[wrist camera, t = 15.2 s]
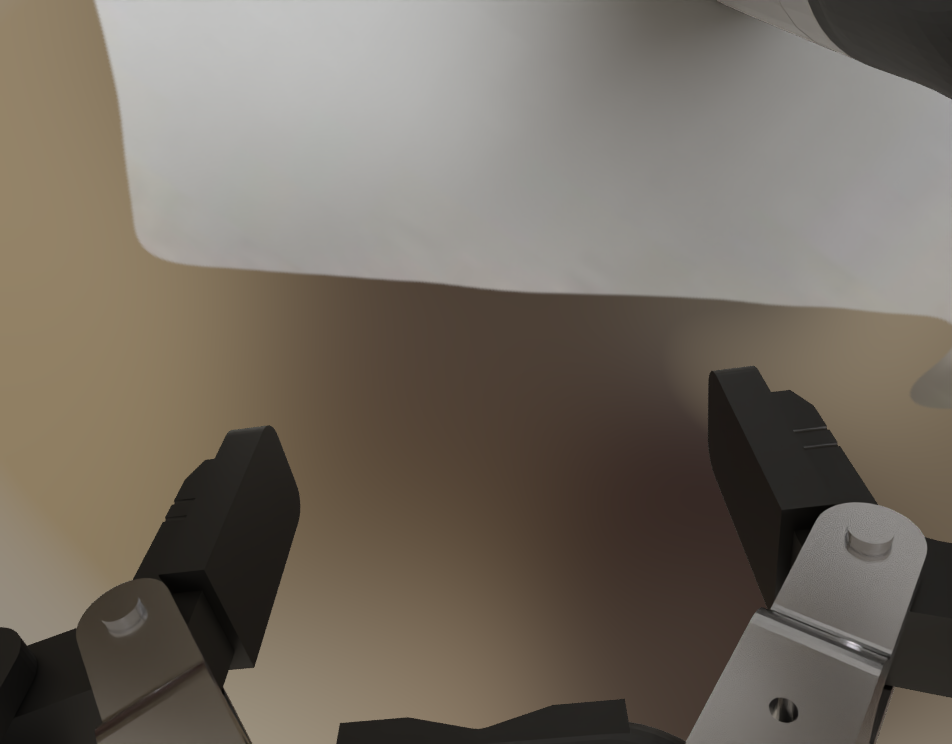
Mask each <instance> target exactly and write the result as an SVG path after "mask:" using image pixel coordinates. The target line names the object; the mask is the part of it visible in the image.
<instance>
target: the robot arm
mask: <svg viewBox="0 0 952 744" xmlns="http://www.w3.org/2000/svg"><path fill="white" fill-rule="evenodd" d="M717 1H718V2H720V3H722V4H724V5H726V6H729V7H731V8H733V9H736V10H738V11H740V12H742V13H744V14H747V15H749V16H751V17H754V18H756V19H759V20H761V21H763V22H766V23H768V24H771V25H773V26H775V27H778V28H780V29H783V30H785V31H787V32H790V33H792V34H795V35H797V36H799V37H802V38H804V39H807V40H809V41H811V42H814V43H816V44H818V45H821V46H823V47H826V48H828V49H830V50H833V51H835V52H839V53H841V54H843V55H846V56H848V57H851V58H853V59H855V60H858V61H860V62H862V63H864V64H866V65H869V66H871V67H874V68H877V69H879V70H882V71H885V72H888V73H891V74H894V75H896V76H899V77H902V78H905V79H908V80H911V81H913V82H916V83H918V84H921V85H923V86H926V87H928V88H931V89H933V90H935V91H937V92H939V93H941V94H943V95H945V96H946V97H948V98H950V99H952V0H717ZM708 385H709V388H708V392H709V393H708V447H709V455H710V461H711V466H712V470H713V473H714V475H715V478H716V481H717V483H718V486H719V488H720V491H721V493H722V496H723V498H724V501H725V503H726V506H727V508H728V511H729V513H730V516H731V518H732V521H733V523H734V526H735V528H736V531H737V534H738V536H739V539H740V541H741V543H742V546H743V549H744V551H745V553H746V556H747V559H748V561H749V564H750V566H751V568H752V571H753V574H754V576H755V579H756V581H757V584H758V586H759V589H760V591H761V594H762V596H763V599H764V601H765V604H766V606H767V609H765V608H760V609H758V610H757V611H756V613H755V614H754V616H753V617H752V619H751V621H750V622H749V624H748V626H747V628H746V630H745V632H744V634H743V636H742V638H741V639H740V641H739V643H738V645H737V647H736V649H735V651H734V653H733V655H732V657H731V658H730V660H729V662H728V664H727V666H726V668H725V670H724V672H723V673H722V675H721V677H720V679H719V681H718V683H717V685H716V686H715V688H714V690H713V692H712V694H711V696H710V698H709V700H708V702H707V704H706V705H705V707H704V709H703V711H702V713H701V715H700V717H699V719H698V721H697V722H696V724H695V726H694V728H693V730H692V732H691V734H690V735H689V737H688V739H687V741H684V740H682V739H680V738H678V737H676V736H674V735H671V734H669V733H666V732H664V731H662V730H659V729H656V728H652V727H649V726H646V725H642V724H636V723H631V722H628V716H627V710H626V704H625V699H620V700H607V701H596V702H584V703H574V704H573V703H572V704H561V705H552V706H549V707H546V708H543V709H540V710H537V711H534V712H531V713H528V714H525V715H522V716H519V717H517V718H513V719H511V720H507V721H505V722H502V723H499V724H496V725H493V726H490V727H486V728H483V729H471V728H465V727H460V726H454V725H448V724H443V723H437V722H431V721H425V720H420V719H414V718H396V719H384V720H372V721H360V722H349V723H340V726H339V732H338V738H337V744H876V742H877V739H878V736H879V733H880V730H881V727H882V724H883V721H884V718H885V715H886V712H887V709H888V706H889V703H890V700H891V697H892V694H893V691H894V688H895V687H900V688H905V689H910V690H915V691H920V692H925V693H930V694H936V695H941V696H946V697H951V698H952V543H947V542H941V541H937V540H933V539H929V538H926V537H924V536H923V534H922V532H921V531H920V530H919V528H918V527H917V526H916V525H915V524H914V523H913V522H912V521H910V520H909V519H908V518H906V517H905V516H903V515H901V514H900V513H898V512H896V511H894V510H891V509H889V508H886V507H883V506H879V505H878V504H877V502H876V501H875V499H874V498H873V496H872V495H871V493H870V492H869V490H868V489H867V487H866V486H865V484H864V482H863V481H862V479H861V478H860V476H859V475H858V473H857V472H856V470H855V468H854V467H853V465H852V464H851V462H850V461H849V459H848V458H847V456H846V455H845V453H844V452H843V450H842V448H841V447H840V446H838V445H837V441H836V439H835V438H834V436H833V435H832V433H831V432H830V430H827V426H826V424H825V423H824V421H823V419H822V418H821V416H820V415H819V413H818V412H817V410H816V409H815V407H814V406H813V405H812V404H810V403H809V402H807V401H806V400H804V399H803V398H801V397H800V396H798V395H797V394H795V393H794V392H792V391H791V390H786V391H778V392H770V390H769V388H768V386H767V385H766V383H765V381H764V379H763V378H762V376H761V374H760V373H759V371H758V369H757V368H756V367H755V366H748V367H741V368H732V369H724V370H717V371H711V372H710V375H709V384H708ZM174 502H175V504H174V505H172V506H171V507H170V509H169V511H168V513H167V515H166V517H165V518H166V521H165V522H163V523H162V525H161V527H160V529H159V531H158V533H157V534H156V536H155V539H154V540H153V542H152V544H151V546H150V548H149V550H148V552H147V554H146V555H145V557H144V559H143V561H142V563H141V565H140V567H139V569H138V571H137V573H136V575H135V577H134V578H133V580H131V581H128V582H125V583H122V584H120V585H118V586H116V587H114V588H112V589H110V590H109V591H107V592H106V593H104V594H103V595H102V596H100V597H99V598H98V599H97V600H96V601H94V602H93V603H92V604H91V605H90V606H89V608H88V609H87V610H86V611H85V613H84V614H83V615H82V617H81V619H80V621H79V623H78V626H77V628H75V629H73V630H70V631H67V632H64V633H62V634H59V635H56V636H53V637H50V638H48V639H45V640H42V641H39V642H36V643H34V644H31V645H28V646H27V645H26V644H25V643H24V641H23V640H22V639H21V638H20V636H19V635H18V633H17V632H15V631H14V630H12V629H9V628H2V627H0V744H252V742H251V740H250V738H249V736H248V734H247V732H246V730H245V728H244V726H243V724H242V722H241V721H240V718H239V716H238V714H237V712H236V710H235V708H234V706H233V705H232V702H231V701H230V699H229V697H228V695H227V693H226V691H225V690H224V688H223V685H224V682H225V679H226V676H227V673H228V670H233V669H244V668H254V667H255V663H256V660H257V657H258V653H259V650H260V647H261V643H262V640H263V637H264V634H265V630H266V627H267V624H268V620H269V617H270V614H271V610H272V607H273V604H274V600H275V597H276V594H277V590H278V587H279V584H280V581H281V577H282V574H283V571H284V568H285V564H286V561H287V558H288V554H289V551H290V548H291V544H292V541H293V538H294V535H295V531H296V528H297V525H298V521H299V516H300V497H299V491H298V488H297V485H296V482H295V480H294V477H293V474H292V472H291V469H290V466H289V464H288V461H287V458H286V456H285V453H284V451H283V448H282V446H281V443H280V440H279V438H278V436H277V433H276V431H275V429H274V428H273V427H271V426H261V427H253V428H245V429H238V430H231V431H229V432H228V433H227V435H226V437H225V439H224V441H223V443H222V445H221V447H220V449H219V451H218V453H217V455H216V457H215V459H210V460H205V461H204V462H203V463H202V464H201V465H200V466H199V467H198V468H197V469H195V471H193V473H191V474H190V475H189V476H188V477H187V478H186V479H185V481H184V483H183V485H182V486H181V488H180V490H179V492H178V494H177V496H176V498H175V500H174Z"/></svg>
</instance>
